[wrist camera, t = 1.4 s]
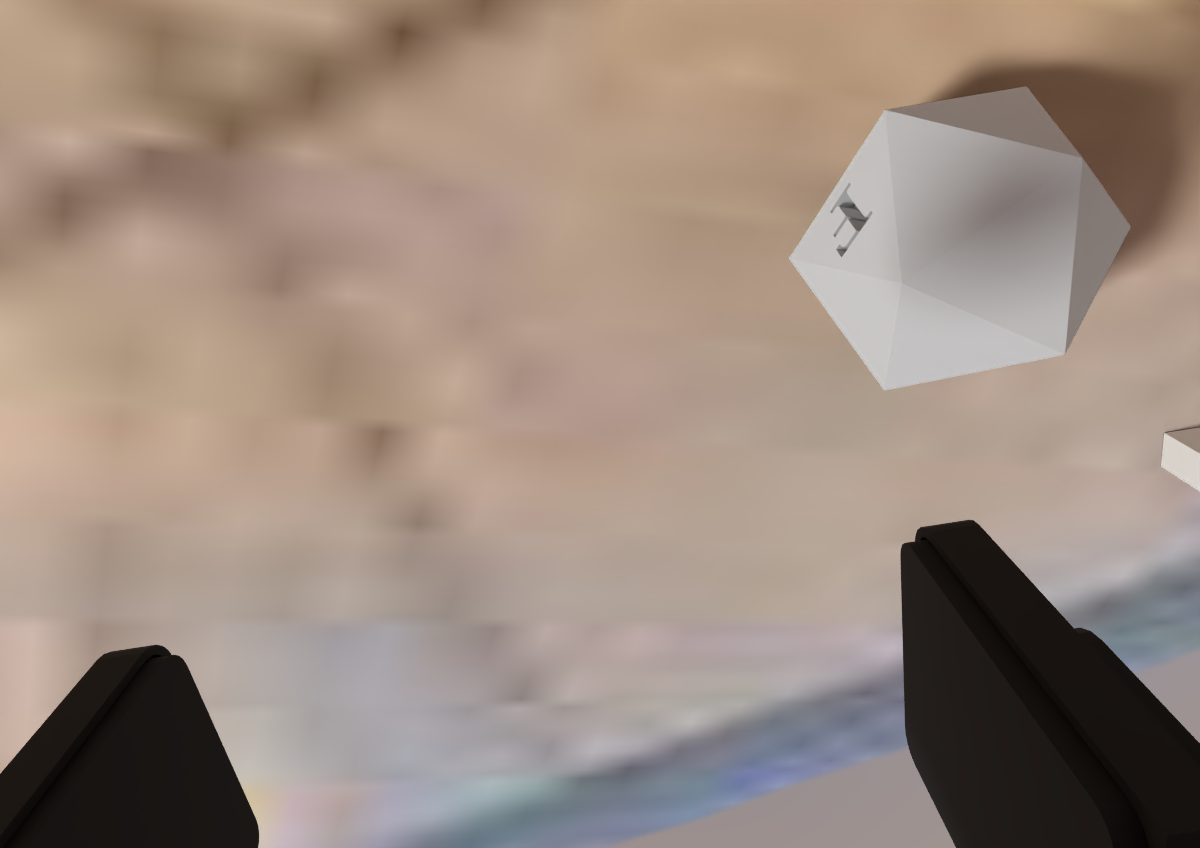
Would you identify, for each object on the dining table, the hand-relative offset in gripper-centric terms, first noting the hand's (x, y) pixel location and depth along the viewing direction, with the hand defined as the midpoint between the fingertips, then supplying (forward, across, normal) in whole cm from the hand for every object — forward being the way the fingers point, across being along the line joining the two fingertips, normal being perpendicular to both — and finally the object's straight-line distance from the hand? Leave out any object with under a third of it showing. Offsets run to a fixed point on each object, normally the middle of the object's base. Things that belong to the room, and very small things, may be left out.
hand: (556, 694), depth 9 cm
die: (+22, -12, 0) cm, 25 cm away
